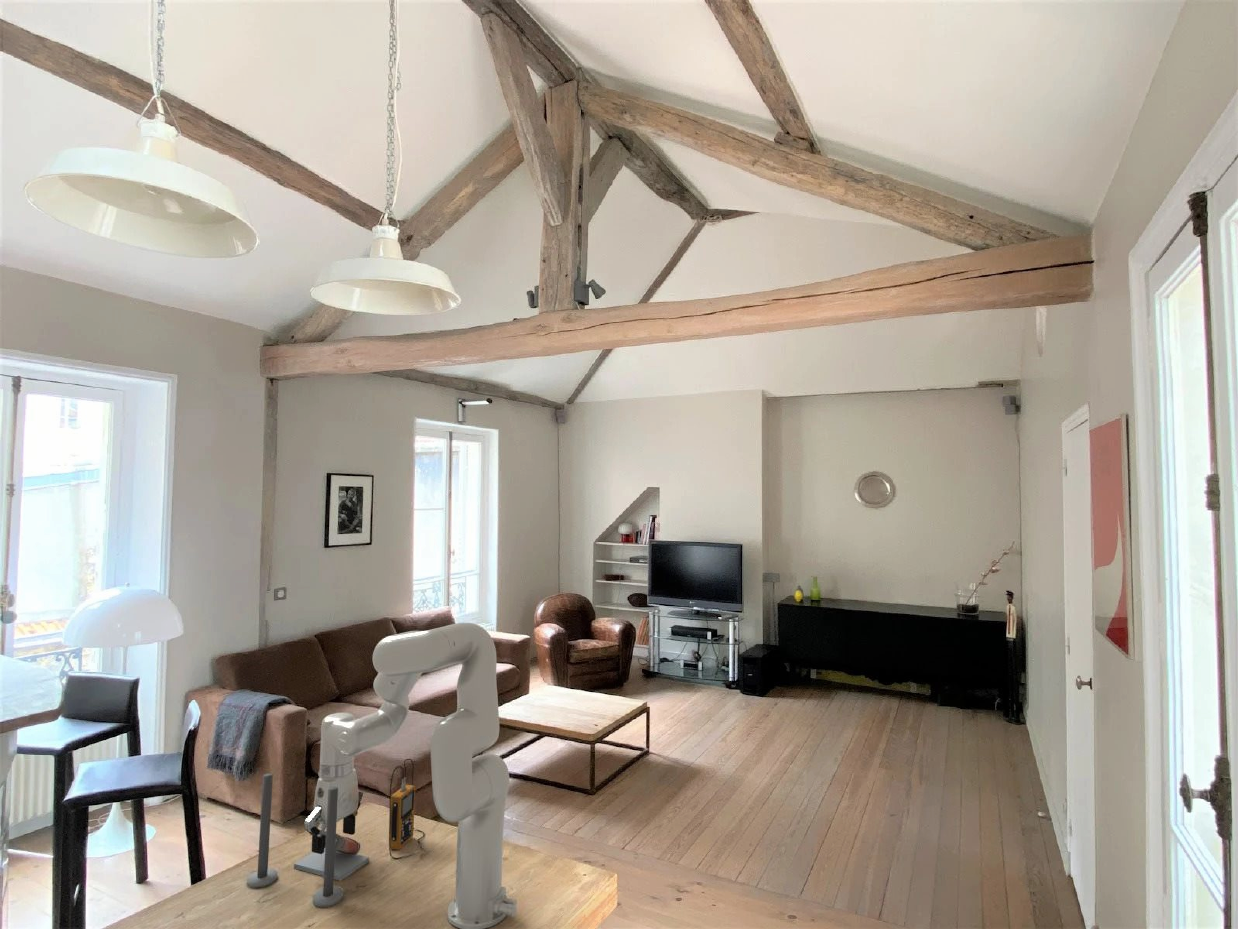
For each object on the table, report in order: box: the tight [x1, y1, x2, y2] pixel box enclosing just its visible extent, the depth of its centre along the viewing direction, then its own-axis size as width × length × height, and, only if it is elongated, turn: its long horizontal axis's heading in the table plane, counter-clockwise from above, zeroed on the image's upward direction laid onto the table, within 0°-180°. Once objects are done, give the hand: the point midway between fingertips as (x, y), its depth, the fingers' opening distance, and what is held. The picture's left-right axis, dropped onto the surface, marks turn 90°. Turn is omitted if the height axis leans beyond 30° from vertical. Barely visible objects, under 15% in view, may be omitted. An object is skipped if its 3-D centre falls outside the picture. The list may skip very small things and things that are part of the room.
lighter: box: [323, 830, 361, 855], centre depth 156 cm, size 8×3×10 cm
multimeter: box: [388, 758, 428, 860], centre depth 166 cm, size 15×10×20 cm
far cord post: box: [246, 773, 278, 888], centre depth 149 cm, size 6×6×23 cm
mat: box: [293, 848, 370, 882], centre depth 155 cm, size 14×9×1 cm, turn 70°
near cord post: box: [312, 787, 344, 908], centre depth 142 cm, size 6×6×23 cm
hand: (333, 842), depth 155 cm, fingers open, 9 cm apart
